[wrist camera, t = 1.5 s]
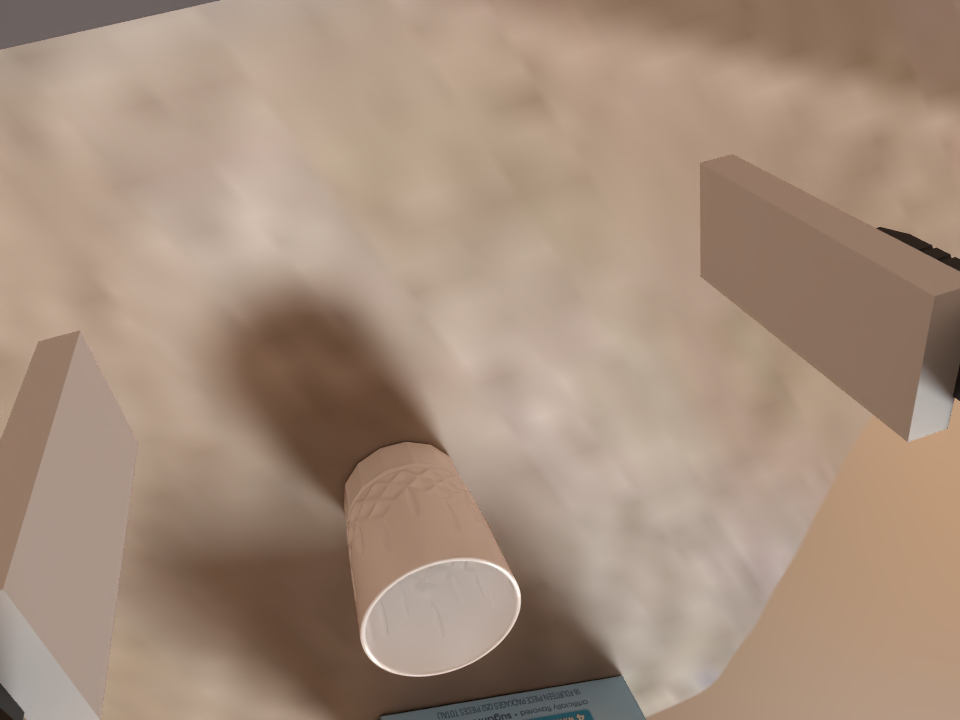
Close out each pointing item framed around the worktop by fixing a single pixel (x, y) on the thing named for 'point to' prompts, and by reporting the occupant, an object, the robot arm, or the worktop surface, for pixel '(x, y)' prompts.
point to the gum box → (543, 705)
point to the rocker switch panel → (73, 16)
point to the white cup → (424, 564)
